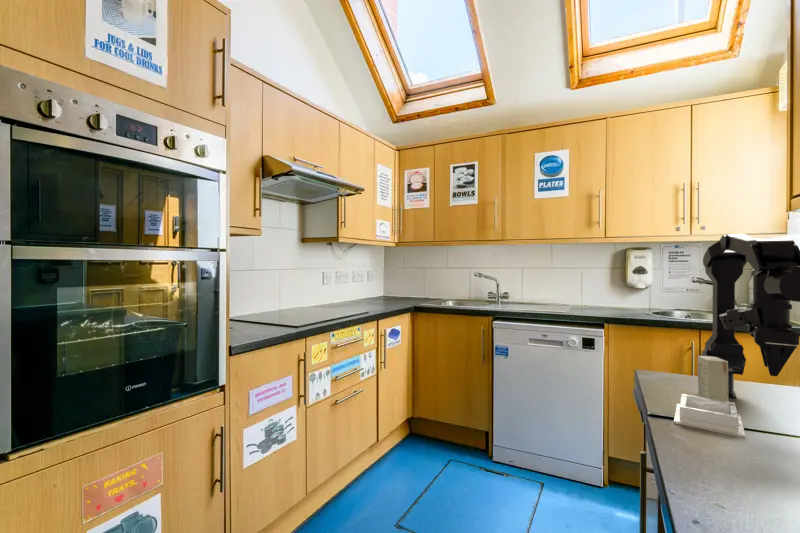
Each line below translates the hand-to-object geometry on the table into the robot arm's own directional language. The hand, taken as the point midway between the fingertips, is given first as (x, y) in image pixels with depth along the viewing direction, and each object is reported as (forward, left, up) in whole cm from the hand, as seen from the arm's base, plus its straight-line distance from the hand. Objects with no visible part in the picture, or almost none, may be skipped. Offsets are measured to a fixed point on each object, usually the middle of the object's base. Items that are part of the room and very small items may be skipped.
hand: (770, 371), depth 83 cm
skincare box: (-12, -9, -13) cm, 20 cm away
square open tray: (0, -11, -13) cm, 17 cm away
